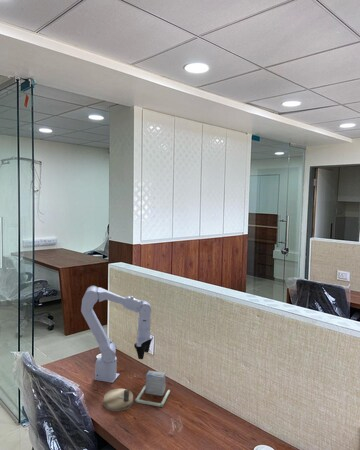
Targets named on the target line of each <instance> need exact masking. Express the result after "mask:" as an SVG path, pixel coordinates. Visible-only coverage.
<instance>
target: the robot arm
mask: <svg viewBox="0 0 360 450" xmlns="http://www.w3.org/2000/svg"><path fill="white" fill-rule="evenodd" d="M103 301H109V302H112V303H116V304H119V305H122V306H123V309H126V310H129V311H131V312H134V313H138V320H137V324H138V325H137V331H138V332H137V341H136V342H135V343H134V344H133V346H134V349H135V351H136V353H137V359H138V360H143V359H144V358H145V353H149V350H150V347H151V343H152V341H153V339H154V337H153V336H151V335H152V334H151V333H152V331H151V320H152V319H151V314H152V308H151V307H152V306H151V304H150V302H148V301H147V300H143V299H137V298H135V297H134V296H133V295H130V296H129V295H127V296H125V297H124V296H122V295H119V294H117V293H114V292H112V291H110V290H107V289H105V288H103V287H98V286H96V285H90V286H88V287H87V288H86V290H85V293H84V295H83V297H82V299H81V307H80V312H81V315H82V316H83V318H84V320H85V322H86V323H87V325H88V327H89V329H90V331H91V333H92V335H93V336H94V338H95V340H96V342H97V344H98V348H99V352H100V353H101V357H98V358H97V359H96V361H95V364H94V379H93V380H94V381H101V382H106V383H111V384H112V383H113V384H114V382H115V381H116V380H117V378H119V376H120V373H117V359H118V358H117V356H116V351H117V346H116V344H115V342H113V341H112V340H111V339H110V337H108V335H107V333H106V331H105V330H104V327H103V326H102V324H101V322H100V320H99V319H98V316H97V315H96V312H95V310H94V305H95V304H96V303H97V302H99V303H100V302H103Z"/></svg>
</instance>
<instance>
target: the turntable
mask: <svg viewBox="0 0 360 450" xmlns="http://www.w3.org/2000/svg"><path fill="white" fill-rule="evenodd" d="M133 401H134V393H133V392H132V391H131V390H129V389H127V388H126V389H125V388H114V389H111V390H108V391H107V392H106V393H105V394H104V395H103V402H104V405H105V406H106V407H108V408H110V409H115V410H119V409H124V408H127V407H129V406H130V405H131V404H132V403H133V404H134V402H133ZM104 405H103V406H104Z"/></svg>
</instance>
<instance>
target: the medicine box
mask: <svg viewBox="0 0 360 450" xmlns="http://www.w3.org/2000/svg"><path fill="white" fill-rule="evenodd" d="M145 386H146V390H145V391H144V392H145V394H146V395H147V394H148V395H153V396H158V397H159V396H160V397H163V396H164V394H165V393H166V372H162V371H157V370H156V371H155V370H148V371H147V373H146V374H145Z"/></svg>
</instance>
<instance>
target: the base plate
mask: <svg viewBox="0 0 360 450" xmlns="http://www.w3.org/2000/svg"><path fill="white" fill-rule="evenodd" d="M102 402H103V403H102V404H103V407H104V408H105V409H107V410H109V411H112V412H121V411H125V410H128V409H130V408H131V407H132V406H133V404H134V403H135V400H133V403H132V404H131V405H130V406H129V407H127V408H124V409H119V410H115V409H110V408H108V407H106V406H105V405H104V401H102Z"/></svg>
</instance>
